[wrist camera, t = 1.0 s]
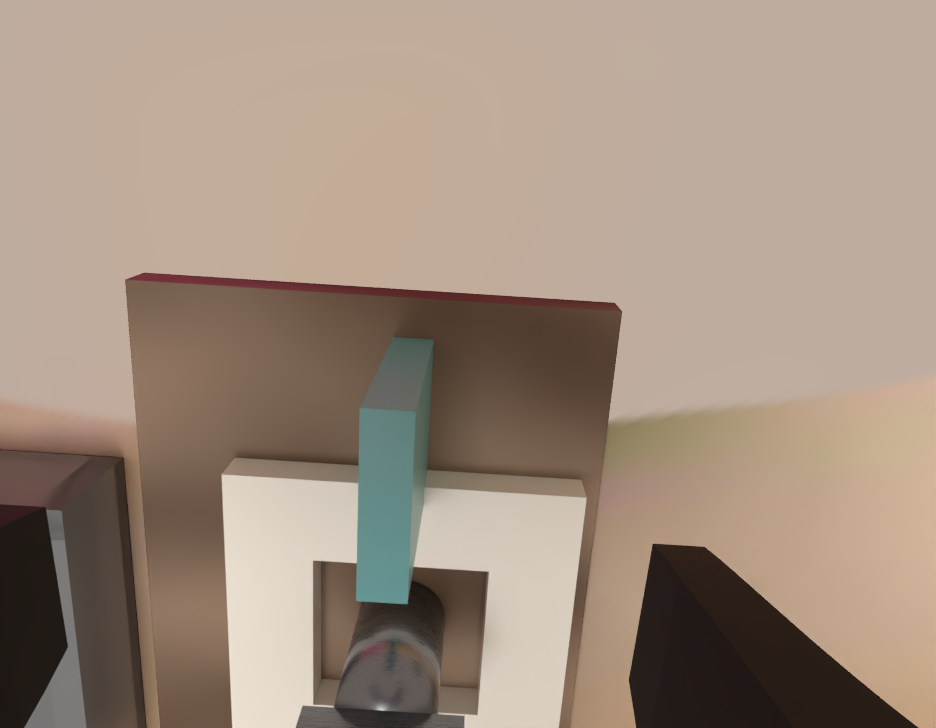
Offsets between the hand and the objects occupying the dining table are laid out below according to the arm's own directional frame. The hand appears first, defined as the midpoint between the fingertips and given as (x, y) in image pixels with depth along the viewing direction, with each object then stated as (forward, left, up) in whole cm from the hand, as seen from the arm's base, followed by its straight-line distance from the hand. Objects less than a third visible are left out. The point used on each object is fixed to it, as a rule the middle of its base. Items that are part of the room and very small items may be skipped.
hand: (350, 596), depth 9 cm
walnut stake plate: (-5, +1, -11) cm, 12 cm away
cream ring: (-6, 0, -10) cm, 11 cm away
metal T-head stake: (-7, 0, -10) cm, 12 cm away
